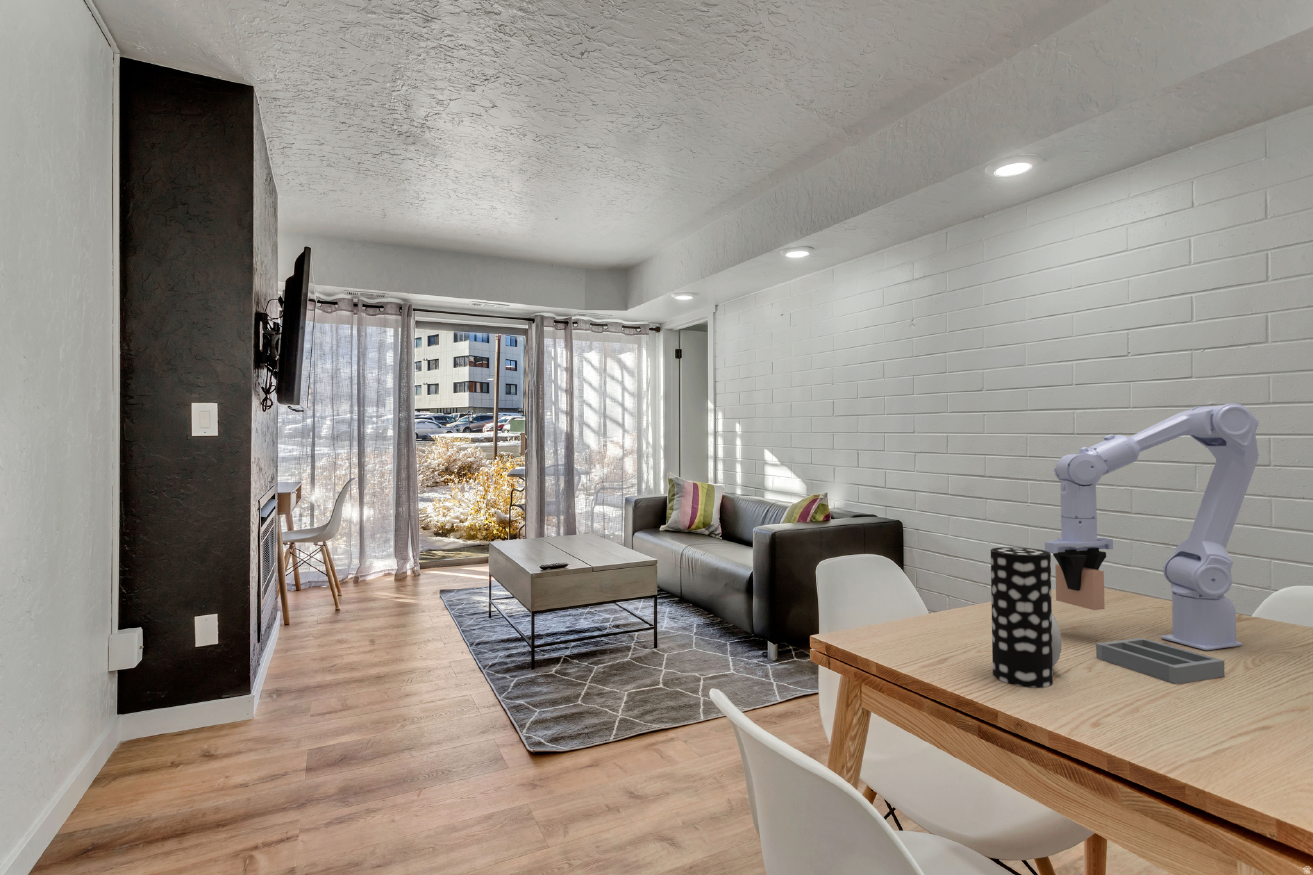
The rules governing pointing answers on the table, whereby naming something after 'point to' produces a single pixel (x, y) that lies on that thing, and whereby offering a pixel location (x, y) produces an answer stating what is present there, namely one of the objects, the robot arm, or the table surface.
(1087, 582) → the brick block
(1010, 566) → the spotted tube
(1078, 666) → the table surface
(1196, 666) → the dish rack
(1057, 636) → the donut
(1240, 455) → the robot arm
